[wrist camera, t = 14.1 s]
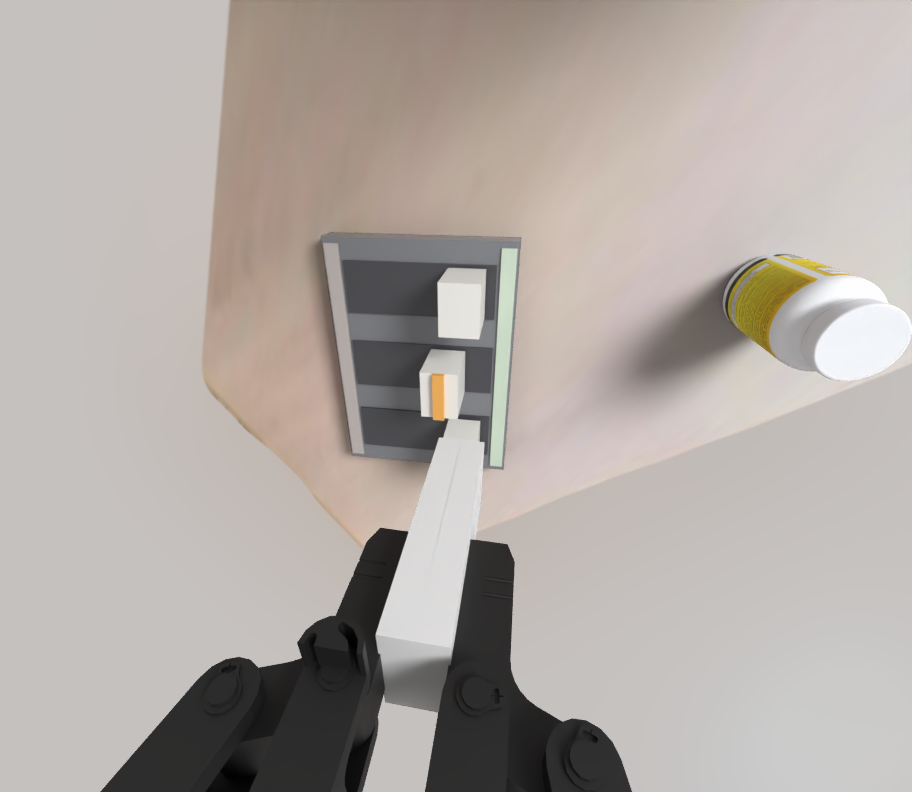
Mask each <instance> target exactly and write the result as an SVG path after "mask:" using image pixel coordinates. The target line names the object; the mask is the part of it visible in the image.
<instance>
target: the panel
mask: <svg viewBox="0 0 912 792" xmlns="http://www.w3.org/2000/svg"><path fill="white" fill-rule="evenodd" d="M321 243H322V250H323V256H324V263H325V270H326V277H327V284H328V291H329V298H330V305H331V312H332V319H333V326H334V333H335V340H336V346H337V353H338V360H339V367H340V374H341V381H342V388H343V395H344V402H345V409H346V416H347V423H348V429H349V436H350V443H351V450H352V455H353V456H363V457H374V458H385V459H395V460H406V461H417V462H427V463H431V461H432V458H433V455H434V452H435V449H436V446H437V443H438V439H439V437H440V438H443V437H444V433H445V430H446V426H447V423H448V420H449V419H448V418H445V419H444V421H440V420H433V417H423V416H421V397H420V373H419V372H420V370H421V368H422V366H423V364H424V362H425V360H426V358H427V356H428V354H429V352H430V350H431V349H437V350H454V351H465V392H464V396H463V400H462V404H461V408H460V411H459V415H458V419H462V420H474V421H480V442H485V443H484V458H483V468H491V469H502V470H503V469H504V456H505V443H506V430H507V417H508V404H509V391H510V378H511V364H512V351H513V338H514V325H515V312H516V299H517V286H518V273H519V260H520V247H521V238H518V237H481V236H444V235H407V234H370V233H333V232H330V233H328V234H325V235H322V236H321ZM448 268H469V269H486V290H485V315H484V322H483V326H482V330H481V334H480V338H479V340H478V339H461V338H443V337H438V284H437V283H438V281H439V280H440V278H441V277H442V276H443V274H444V273H445V271H446V270H447V269H448Z"/></svg>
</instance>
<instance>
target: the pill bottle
mask: <svg viewBox="0 0 912 792" xmlns="http://www.w3.org/2000/svg"><path fill="white" fill-rule="evenodd" d="M723 310H724V313H725V315H726V317H727V319H728V320H729V321H730V322H731V323H732V324H733V325H734V326H735V327H736V328H737V329H738V330H740V331H741V332H742V333H744V334H745V335H747V336H748V337H749V338H751V339H752V340H753V341H755V342H756V343H757V344H759V345H760V346H761V347H762V348H764V349H765V350H766V351H768V352H769V353H770V354H772V355H773V356H774V357H775V358H777V359H778V360H779V361H781V362H783V363H784V364H786V365H788V366H790V367H792V368H795V369H798V370H803V371H817V372H818V373H820V374H821V375H823V376H825V377H827V378H829V379H833V380H837V381H854V380H859V379H863V378H867V377H870V376H872V375H874V374H877V373H879V372H880V371H882V370H884V369H886V368H887V367H889V366H890V365H891V364H893V363H894V362H895V361H896V360H897V359H898V358H899V357H900V356H901V354H902V353H903V352H904V350H905V349H906V347H907V345H908V343H909V341H910V338H911V333H912V327H911V322H910V320H909V318H908V316H907V315H906V314H905V313H904V312H903V311H902V310H901V309H899V308H897V307H895V306H893V305H890V304H888V302H887V299H886V297H885V295H884V294H883V292H882V291H881V290H880V289H879V288H878V287H877V286H876V285H875V284H873V283H871V282H870V281H868V280H865V279H863V278H861V277H858V276H855V275H852V274H849V273H846V272H843V271H840V270H837V269H834V268H832V267H829V266H826V265H823V264H820V263H817V262H814V261H811V260H808V259H804V258H801V257H798V256H795V255H791V254H785V253H774V254H768V255H764V256H761V257H759V258H756V259H754V260H752V261H750V262H749V263H747V264H745V265H744V266H743V267H741V268H740V269H739V270H738V271H737V272H736V273H735V274H734V276H733V277H732V278H731V280H730V281H729V283H728V285H727V287H726V289H725V292H724V296H723Z"/></svg>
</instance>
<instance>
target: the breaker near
mask: <svg viewBox="0 0 912 792" xmlns="http://www.w3.org/2000/svg"><path fill="white" fill-rule="evenodd" d="M437 284H438V337H443V338H461V339H478V340H479V338H480V334H481V330H482V326H483V322H484V315H485V290H486V269H469V268H448V269H447V270H446V271H445V273H444V274H443V276H442V277H441V278H440V280H439V281H438V283H437Z"/></svg>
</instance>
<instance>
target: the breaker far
mask: <svg viewBox="0 0 912 792" xmlns="http://www.w3.org/2000/svg"><path fill="white" fill-rule="evenodd" d="M443 438H449V439H458V440H468V441H477V442H480V421H474V420H462V419H449V420H448V423H447V426H446V430H445V433H444V437H443Z"/></svg>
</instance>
